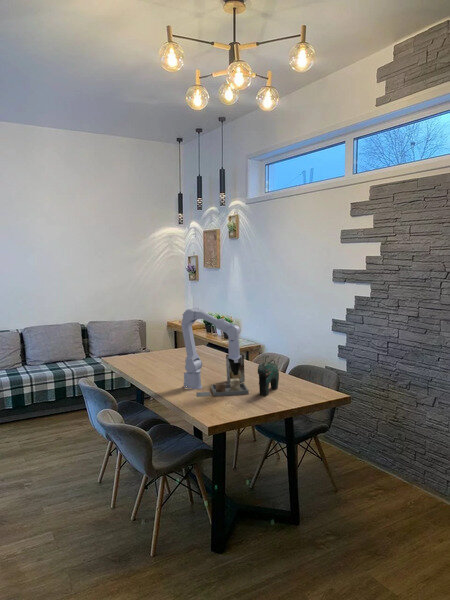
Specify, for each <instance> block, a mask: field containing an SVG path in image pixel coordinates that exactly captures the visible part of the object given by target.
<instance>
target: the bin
mask: <svg viewBox="0 0 450 600" xmlns="http://www.w3.org/2000/svg"><path fill="white" fill-rule="evenodd" d="M211 392H212V395H213V397H223V396H225V397H227V396H241V395H242V396H243V395H244V396H245V395H249V394H250V392H249V388H248V387H247V385H246V384H245V382H240V391H231V390H230V383H225V392H216V384H211Z"/></svg>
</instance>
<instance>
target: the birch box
mask: <svg viewBox="0 0 450 600" xmlns="http://www.w3.org/2000/svg"><path fill="white" fill-rule="evenodd" d="M240 383H241V382H240V380H239V379H238V378H236V379H230V383H229V384H230V390H231V391H240Z"/></svg>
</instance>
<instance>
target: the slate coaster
mask: <svg viewBox="0 0 450 600" xmlns="http://www.w3.org/2000/svg"><path fill="white" fill-rule="evenodd" d="M211 395H212V394H211V391H202V392H201V391H200V392H196V396H197V397H196V398H199V397H200V398H201V397H211Z"/></svg>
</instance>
